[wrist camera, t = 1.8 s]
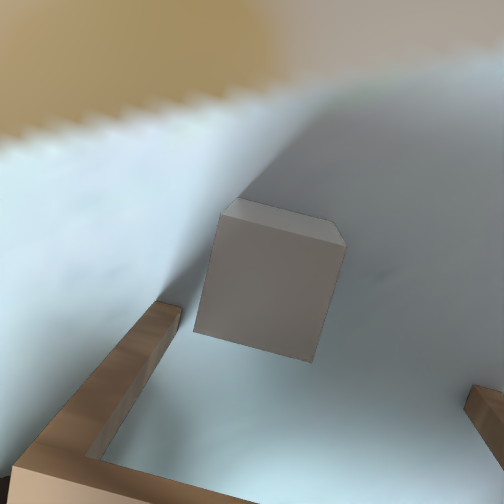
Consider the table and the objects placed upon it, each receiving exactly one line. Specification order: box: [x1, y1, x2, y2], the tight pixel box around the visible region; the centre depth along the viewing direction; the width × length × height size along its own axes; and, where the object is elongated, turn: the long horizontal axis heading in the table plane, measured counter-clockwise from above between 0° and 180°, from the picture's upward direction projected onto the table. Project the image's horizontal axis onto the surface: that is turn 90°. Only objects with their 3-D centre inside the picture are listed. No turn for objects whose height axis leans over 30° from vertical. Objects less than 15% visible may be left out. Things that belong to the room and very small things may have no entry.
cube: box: [193, 197, 347, 363], centre depth 22 cm, size 5×5×6 cm
